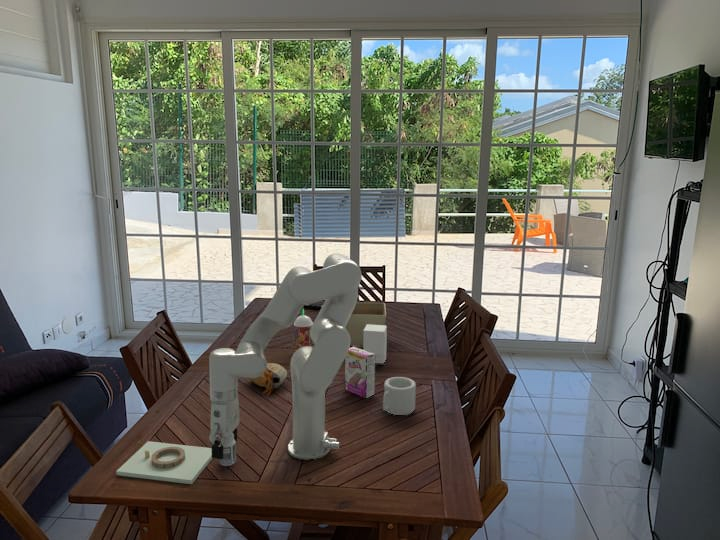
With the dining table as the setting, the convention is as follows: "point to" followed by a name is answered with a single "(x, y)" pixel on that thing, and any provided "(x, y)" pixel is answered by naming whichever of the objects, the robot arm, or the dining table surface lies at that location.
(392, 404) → the mug
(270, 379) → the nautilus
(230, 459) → the pill bottle
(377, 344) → the supplement box
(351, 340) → the flower pot
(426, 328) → the dining table surface
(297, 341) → the smoothie
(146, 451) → the socket board
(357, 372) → the candy bar box
